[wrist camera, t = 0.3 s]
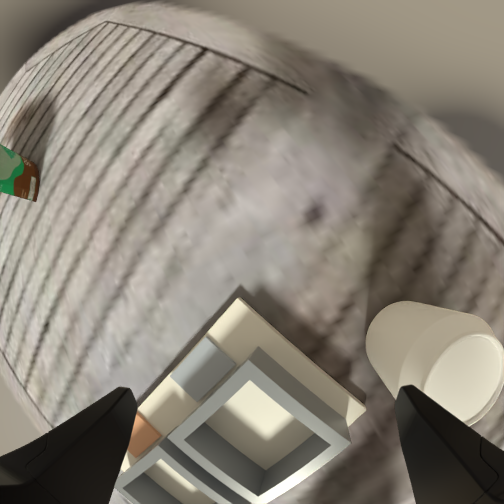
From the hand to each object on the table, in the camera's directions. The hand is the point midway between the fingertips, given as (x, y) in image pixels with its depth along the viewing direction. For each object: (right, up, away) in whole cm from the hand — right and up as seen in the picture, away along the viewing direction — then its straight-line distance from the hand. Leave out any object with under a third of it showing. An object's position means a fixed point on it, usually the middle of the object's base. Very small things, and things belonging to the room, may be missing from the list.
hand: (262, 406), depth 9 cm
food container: (-31, +15, +22) cm, 41 cm away
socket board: (-4, -12, +15) cm, 20 cm away
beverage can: (+12, -2, +13) cm, 18 cm away
